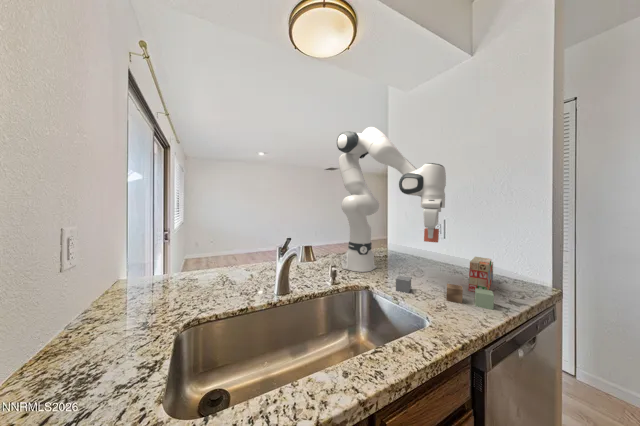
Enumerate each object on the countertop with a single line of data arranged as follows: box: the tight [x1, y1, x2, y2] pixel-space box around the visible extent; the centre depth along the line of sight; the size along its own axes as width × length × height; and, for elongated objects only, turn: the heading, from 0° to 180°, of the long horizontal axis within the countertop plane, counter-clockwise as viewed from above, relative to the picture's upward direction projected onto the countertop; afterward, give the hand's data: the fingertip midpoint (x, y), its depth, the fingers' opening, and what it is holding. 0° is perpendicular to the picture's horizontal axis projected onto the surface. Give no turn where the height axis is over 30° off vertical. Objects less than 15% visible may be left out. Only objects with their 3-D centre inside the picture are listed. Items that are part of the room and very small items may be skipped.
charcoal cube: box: [395, 275, 412, 294], centre depth 97 cm, size 5×5×5 cm
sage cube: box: [474, 288, 495, 310], centre depth 83 cm, size 5×5×5 cm
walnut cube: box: [445, 283, 464, 305], centre depth 88 cm, size 5×5×5 cm
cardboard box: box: [467, 256, 494, 293], centre depth 103 cm, size 21×6×12 cm, turn 139°
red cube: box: [423, 227, 440, 244], centre depth 97 cm, size 5×5×5 cm
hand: (431, 237), depth 97 cm, fingers closed on red cube, 5 cm apart
